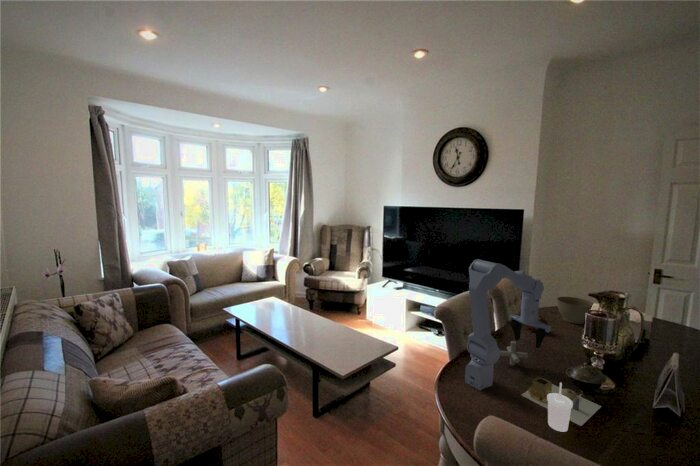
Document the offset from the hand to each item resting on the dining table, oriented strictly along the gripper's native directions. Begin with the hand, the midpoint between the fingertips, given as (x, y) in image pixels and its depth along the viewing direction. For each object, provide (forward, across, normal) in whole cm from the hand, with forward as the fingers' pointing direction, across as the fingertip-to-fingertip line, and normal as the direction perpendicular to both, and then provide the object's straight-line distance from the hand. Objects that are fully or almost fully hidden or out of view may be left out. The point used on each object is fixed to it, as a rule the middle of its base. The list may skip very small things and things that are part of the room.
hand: (527, 343), depth 120 cm
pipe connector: (+10, +4, +4) cm, 11 cm away
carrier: (+10, -17, +13) cm, 23 cm away
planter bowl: (+10, +9, -68) cm, 69 cm away
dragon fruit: (+10, +15, -38) cm, 42 cm away
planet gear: (+9, -12, +15) cm, 22 cm away
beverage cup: (+10, -21, +26) cm, 35 cm away
